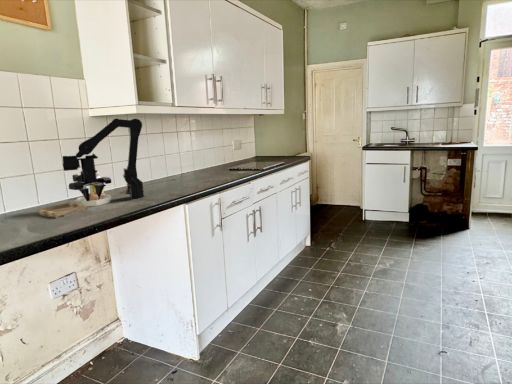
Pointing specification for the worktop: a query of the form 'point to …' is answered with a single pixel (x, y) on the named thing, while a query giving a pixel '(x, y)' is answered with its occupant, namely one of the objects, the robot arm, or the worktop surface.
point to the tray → (61, 210)
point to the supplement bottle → (92, 188)
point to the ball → (93, 196)
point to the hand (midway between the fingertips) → (93, 200)
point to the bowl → (93, 200)
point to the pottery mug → (129, 188)
